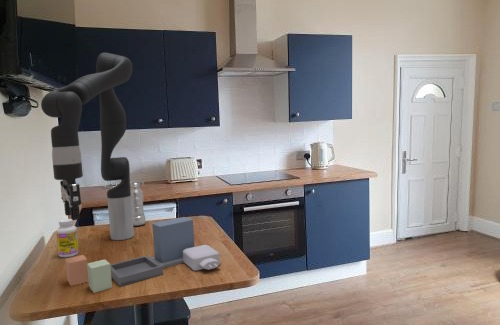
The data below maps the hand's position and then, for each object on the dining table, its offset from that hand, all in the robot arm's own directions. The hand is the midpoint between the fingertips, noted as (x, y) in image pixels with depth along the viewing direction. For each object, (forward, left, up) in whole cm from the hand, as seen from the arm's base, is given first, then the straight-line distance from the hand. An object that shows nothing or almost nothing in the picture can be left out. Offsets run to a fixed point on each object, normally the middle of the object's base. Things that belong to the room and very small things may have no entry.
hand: (72, 217), depth 110 cm
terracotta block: (0, 0, -20) cm, 20 cm away
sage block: (+9, +4, -20) cm, 22 cm away
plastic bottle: (-51, +37, -20) cm, 66 cm away
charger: (+16, +34, -20) cm, 43 cm away
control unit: (+3, +30, -20) cm, 36 cm away
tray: (+6, +15, -20) cm, 25 cm away
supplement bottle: (-29, +3, -20) cm, 35 cm away
